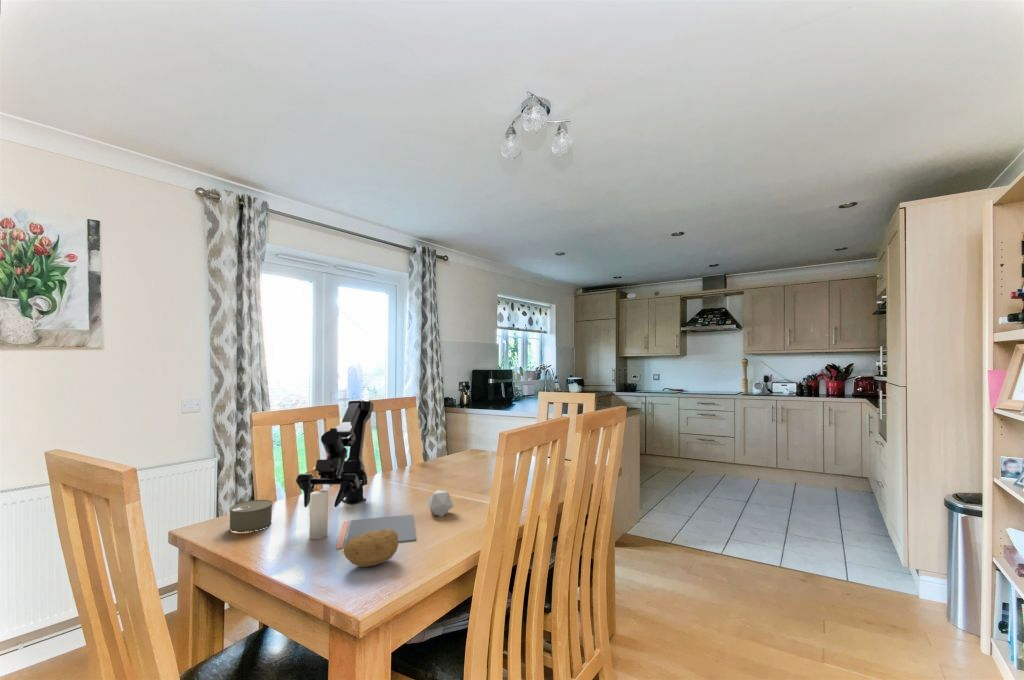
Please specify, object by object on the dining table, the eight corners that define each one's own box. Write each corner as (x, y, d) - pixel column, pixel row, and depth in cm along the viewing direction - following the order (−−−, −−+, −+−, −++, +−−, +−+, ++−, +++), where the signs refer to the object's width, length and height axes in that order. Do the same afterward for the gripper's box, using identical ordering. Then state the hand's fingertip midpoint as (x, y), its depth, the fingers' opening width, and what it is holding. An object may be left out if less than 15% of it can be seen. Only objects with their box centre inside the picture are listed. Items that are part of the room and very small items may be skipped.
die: (457, 515, 155) (453, 488, 161) (447, 510, 148) (443, 482, 154) (436, 523, 156) (432, 496, 162) (425, 518, 149) (422, 490, 155)
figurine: (325, 493, 180) (326, 462, 180) (325, 497, 174) (325, 466, 175) (303, 495, 177) (303, 464, 177) (301, 499, 171) (302, 468, 172)
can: (279, 525, 145) (279, 503, 145) (240, 537, 135) (240, 514, 135) (260, 517, 152) (261, 497, 152) (221, 529, 142) (222, 507, 142)
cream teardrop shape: (306, 536, 135) (306, 493, 136) (321, 531, 139) (322, 489, 140) (315, 540, 132) (316, 496, 133) (330, 535, 136) (331, 492, 137)
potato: (339, 564, 117) (339, 533, 118) (392, 551, 125) (392, 522, 125) (348, 579, 109) (348, 546, 109) (403, 565, 117) (404, 533, 117)
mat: (344, 548, 127) (344, 546, 127) (351, 521, 148) (351, 520, 148) (416, 540, 132) (416, 539, 132) (412, 515, 153) (412, 514, 153)
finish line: (342, 548, 127) (342, 547, 127) (336, 549, 126) (336, 548, 126) (348, 521, 148) (348, 520, 148) (343, 522, 147) (343, 521, 147)
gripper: (299, 448, 143) (280, 493, 132) (357, 448, 143) (344, 493, 132) (309, 467, 151) (293, 511, 139) (364, 467, 151) (352, 511, 139)
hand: (320, 506), depth 137 cm, fingers open, 9 cm apart
